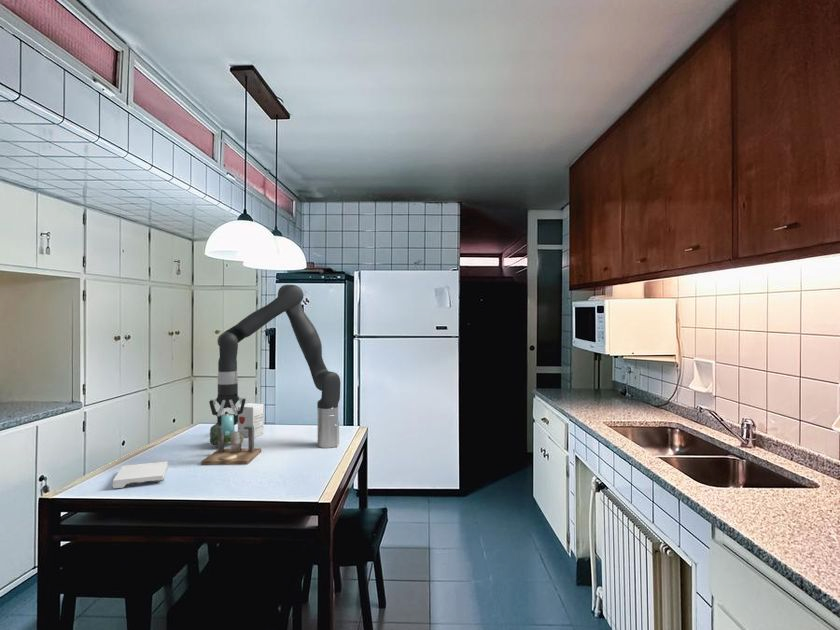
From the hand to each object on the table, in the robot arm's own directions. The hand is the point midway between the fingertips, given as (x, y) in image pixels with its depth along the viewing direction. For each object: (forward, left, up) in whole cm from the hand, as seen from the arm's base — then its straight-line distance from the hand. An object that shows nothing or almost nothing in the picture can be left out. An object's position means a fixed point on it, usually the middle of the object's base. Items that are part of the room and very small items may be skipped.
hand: (227, 424), depth 196 cm
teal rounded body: (0, 0, -3) cm, 3 cm away
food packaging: (+24, +18, -16) cm, 34 cm away
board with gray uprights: (0, -5, -15) cm, 16 cm away
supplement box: (+5, -43, -15) cm, 46 cm away
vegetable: (+10, -24, -15) cm, 30 cm away
